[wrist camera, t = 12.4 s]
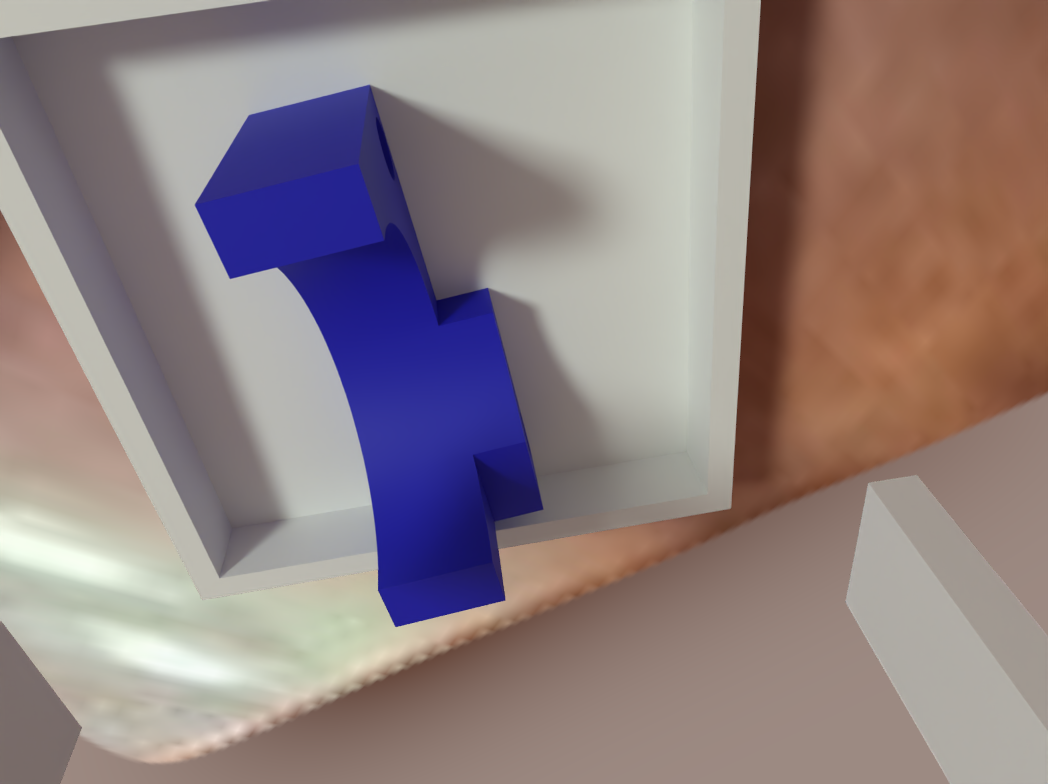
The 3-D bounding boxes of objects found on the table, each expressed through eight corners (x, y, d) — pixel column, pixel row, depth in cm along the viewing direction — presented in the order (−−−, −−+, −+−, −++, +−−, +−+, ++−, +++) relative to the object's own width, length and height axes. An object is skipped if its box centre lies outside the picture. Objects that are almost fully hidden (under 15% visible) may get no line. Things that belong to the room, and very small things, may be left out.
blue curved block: (530, 447, 26) (560, 586, 21) (396, 480, 26) (395, 627, 21) (430, 69, 19) (440, 143, 14) (248, 115, 19) (194, 204, 14)
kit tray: (717, -119, 18) (767, -116, 16) (701, 450, 28) (730, 508, 25) (-34, -16, 17) (-106, 4, 15) (220, 532, 27) (202, 600, 24)
